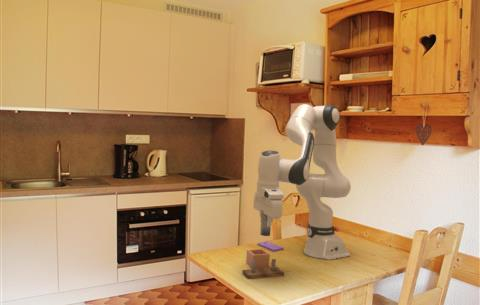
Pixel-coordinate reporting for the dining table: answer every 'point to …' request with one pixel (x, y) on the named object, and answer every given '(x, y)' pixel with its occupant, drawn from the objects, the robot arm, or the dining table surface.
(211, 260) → the dining table surface
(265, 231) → the steel pin
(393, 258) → the dining table surface
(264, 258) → the socket
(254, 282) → the dining table surface
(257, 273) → the peg board
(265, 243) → the sponges
